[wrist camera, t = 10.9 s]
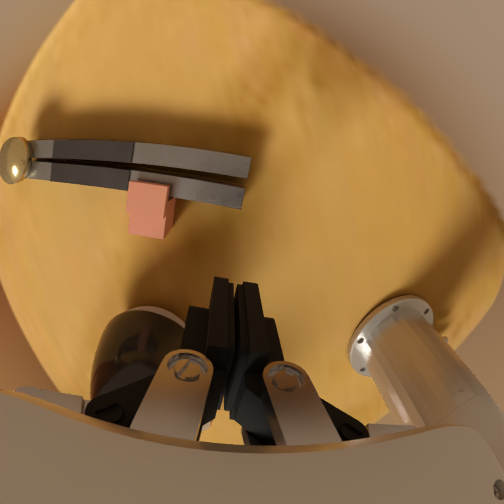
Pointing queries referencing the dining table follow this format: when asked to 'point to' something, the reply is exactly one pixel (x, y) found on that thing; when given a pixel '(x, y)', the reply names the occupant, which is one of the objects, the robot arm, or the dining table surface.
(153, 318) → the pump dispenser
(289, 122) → the dining table surface
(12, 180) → the tongs fixed arm
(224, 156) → the tongs moving arm
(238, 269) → the dining table surface
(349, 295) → the dining table surface
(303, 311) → the dining table surface
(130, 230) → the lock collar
